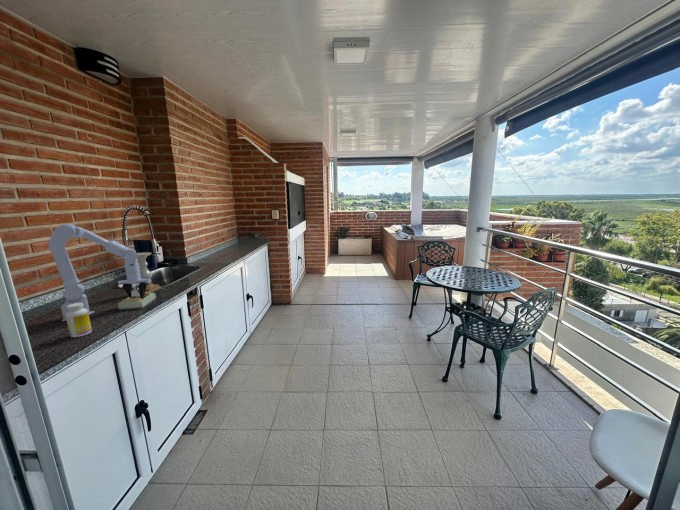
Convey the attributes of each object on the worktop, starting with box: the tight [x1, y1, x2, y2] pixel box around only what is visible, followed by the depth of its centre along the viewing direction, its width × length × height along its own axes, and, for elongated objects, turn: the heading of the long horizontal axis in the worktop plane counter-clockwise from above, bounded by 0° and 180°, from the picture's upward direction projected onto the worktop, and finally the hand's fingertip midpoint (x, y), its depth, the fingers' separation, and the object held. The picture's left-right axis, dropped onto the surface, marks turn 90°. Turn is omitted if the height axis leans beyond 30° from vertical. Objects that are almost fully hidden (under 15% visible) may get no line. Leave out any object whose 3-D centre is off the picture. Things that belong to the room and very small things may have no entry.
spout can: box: [130, 284, 144, 300], centre depth 144 cm, size 5×5×8 cm
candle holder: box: [136, 251, 162, 293], centre depth 163 cm, size 11×11×24 cm
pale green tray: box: [117, 292, 157, 311], centre depth 145 cm, size 14×11×5 cm
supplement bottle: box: [66, 303, 93, 338], centre depth 111 cm, size 7×7×13 cm
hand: (137, 296), depth 145 cm, fingers closed on spout can, 5 cm apart
